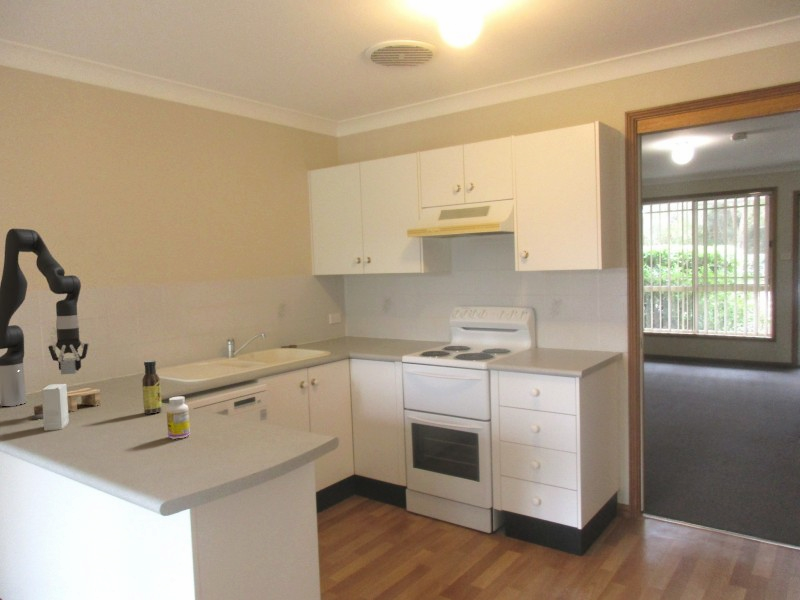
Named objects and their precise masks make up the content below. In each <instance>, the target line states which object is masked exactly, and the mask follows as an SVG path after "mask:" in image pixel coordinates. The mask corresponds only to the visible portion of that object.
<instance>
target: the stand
mask: <svg viewBox="0 0 800 600" xmlns="http://www.w3.org/2000/svg"><path fill="white" fill-rule="evenodd" d="M100 395H101V389H96V388H91V387H84V388H79V389H74V390H67V400H68V412H69V411H71V413H73V412H72V411H74V412H77V411H78V403H77V401H78V400H77V398H78V397H80V399H81V405H84V404H87V405H86V406H90V405H94V406H93V407H98V406H97V405H100V406H101V396H100Z"/></svg>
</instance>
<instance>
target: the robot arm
mask: <svg viewBox="0 0 800 600" xmlns="http://www.w3.org/2000/svg"><path fill="white" fill-rule="evenodd" d="M4 241H5V244H4V259H3V260H4V261H3V269H2V274H1V281H0V350H4V349H6V352H5V353H4V354H2V355H0V405H1V406H0V407H2V406H10V407H16V405H17V406H20V404H22V405H24V403H25V404H26V403H27V395H26V394H27V391H26V381H25V380H26V379H25V369H24V368H25V367H24V359H25V358H24V357H25V336H24V331H23V329H22V327H21V326H19V325H9V324H10V321H11V319H12V317H13V316H14V314H15V313H16V311H18V309H19V308H20V307H21V306H22V305H23V303H24V301H25V299H26V295H27V290H28V280H27V278H26V276H25V274H24V272H23V271H22V269H21V267H20V264H19V254H20V253H33V254H35V256H37V257H36V264H35V265H36V267H37V269H38V271H39V272H40V273H41V274H42V275H43V277H45V279H46V281H47V284H48V287H49V290H50V291H51V292H52V293H53V294H56V295H66V297H65V298H64V299H61V300H58V301H57V302H56V303H55V308H56V309H55V312H56V322H55V324H56V325H55V327H56V343H55V344H51V345H49V346H48V347H47V348H48V351H49V353H50V356H51V358H52V361H56V362H58V370H59V371H61V363H60V361H62V360H63V359H65V358H64V357H65V355H66V354H73V356H74V358H76V360H77V361H76V368H77V370H79V371H80V369H82V360H83V359H85V358H87V355H88V350H89V349H88V348H89V345H90V344H89V343H88V342H86V343H85V342H81V339H80V325H79V318H78V317H79V316H78V301H79V296H80V292H81V287H82V283H81V281H80V279H79V277H78V276H76V275H73V274H71V275H65V274H66V272H65V269H64V268H63V266H62V265H61V264H60V263H59V262H58V261H57V260H56V259H55V257H53V255H52V254H51V252H50V250H49V249H48V247H47V245H46V243H45V242H44V240H43V238H42V237H41V235H40V233H38V232H37V230H34V229H29V228H27V229H26V228H10V229H9V230H8V231H7V233H6V236H5V240H4ZM80 347H81V349H82V352H81V355H80V352H79V350H78V349H79V348H80ZM57 349H58V350H59V356H58V355H57V353H56V350H57Z"/></svg>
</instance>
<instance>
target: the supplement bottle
mask: <svg viewBox="0 0 800 600" xmlns="http://www.w3.org/2000/svg"><path fill="white" fill-rule="evenodd" d="M168 402H169V406H167V408H166V421H167V435H168V438H169V437H170V438H180V437H185V436H187V435H189V434H190V435H191V429H190V412H189V410H190V409H189V406H188V405H187V404H185V396H173V397H170V398H168ZM190 435H189V436H190ZM170 438H169V439H170Z"/></svg>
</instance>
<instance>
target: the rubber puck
mask: <svg viewBox="0 0 800 600" xmlns="http://www.w3.org/2000/svg"><path fill="white" fill-rule="evenodd" d="M38 419H40V420H44V419H43V414H37V415H32V420H33V421H39V420H38Z"/></svg>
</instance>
